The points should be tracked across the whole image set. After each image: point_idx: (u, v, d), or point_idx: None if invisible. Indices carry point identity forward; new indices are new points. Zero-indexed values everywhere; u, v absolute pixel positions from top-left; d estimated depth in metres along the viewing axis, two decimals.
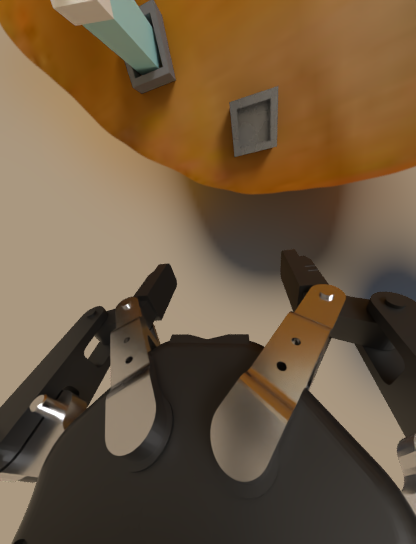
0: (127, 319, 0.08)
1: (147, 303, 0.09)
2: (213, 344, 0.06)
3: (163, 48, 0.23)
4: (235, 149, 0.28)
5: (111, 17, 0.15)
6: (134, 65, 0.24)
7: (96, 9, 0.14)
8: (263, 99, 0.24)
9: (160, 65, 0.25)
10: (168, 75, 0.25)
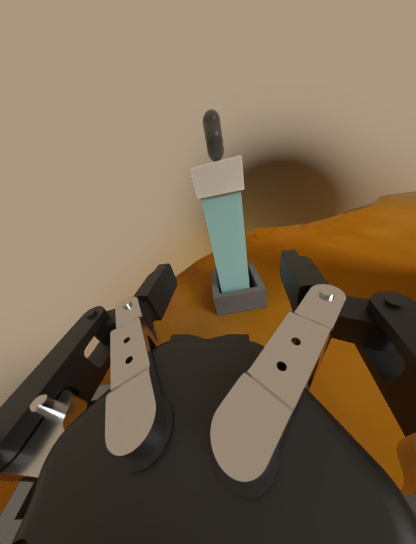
0: (127, 319, 0.08)
1: (147, 303, 0.09)
2: (213, 344, 0.06)
3: (232, 295, 0.19)
4: None
5: (196, 195, 0.15)
6: None
7: None
8: None
9: None
10: None
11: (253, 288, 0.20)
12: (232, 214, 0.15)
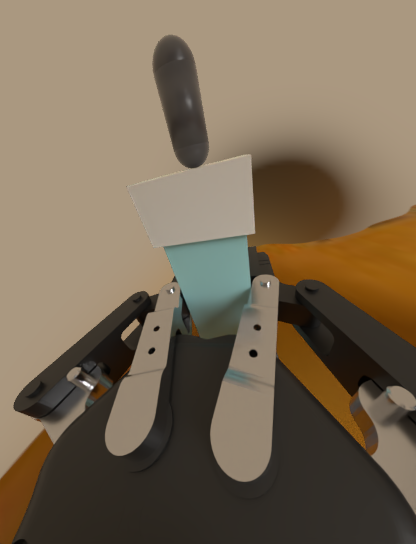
0: (166, 305, 0.08)
1: None
2: (213, 344, 0.06)
3: None
4: None
5: (151, 241, 0.07)
6: None
7: None
8: None
9: None
10: None
11: None
12: (229, 273, 0.08)
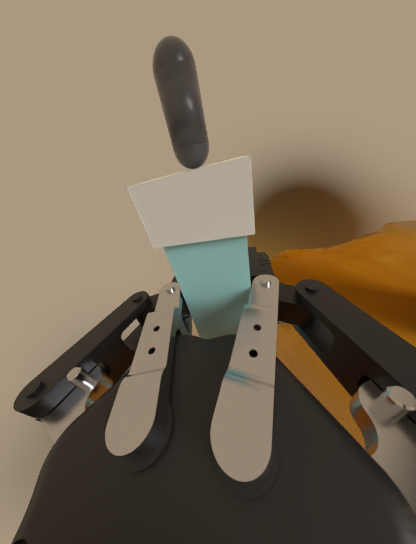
0: (166, 305, 0.08)
1: None
2: (213, 344, 0.06)
3: None
4: None
5: (151, 241, 0.07)
6: None
7: None
8: None
9: None
10: None
11: None
12: (230, 274, 0.08)
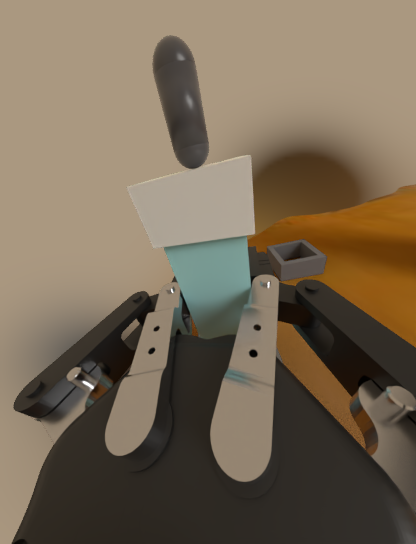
0: (166, 305, 0.08)
1: None
2: (213, 344, 0.06)
3: (297, 262, 0.24)
4: None
5: (151, 241, 0.07)
6: None
7: None
8: None
9: None
10: (280, 266, 0.24)
11: (314, 256, 0.24)
12: (229, 274, 0.08)
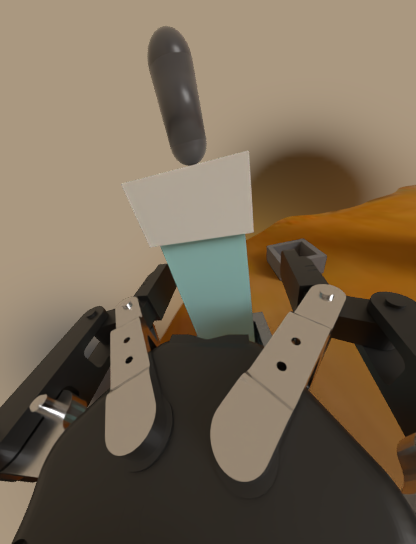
0: (127, 319, 0.08)
1: (147, 303, 0.09)
2: (213, 344, 0.06)
3: None
4: None
5: (147, 240, 0.07)
6: None
7: None
8: None
9: None
10: (279, 266, 0.24)
11: (314, 255, 0.24)
12: (228, 273, 0.07)
